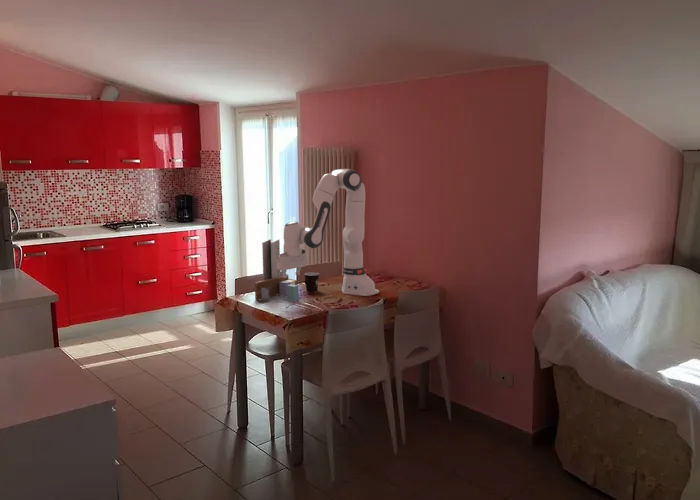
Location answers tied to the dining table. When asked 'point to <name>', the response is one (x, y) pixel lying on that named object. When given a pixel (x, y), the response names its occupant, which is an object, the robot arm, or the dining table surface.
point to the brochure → (270, 259)
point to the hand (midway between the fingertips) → (291, 276)
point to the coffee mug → (311, 281)
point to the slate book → (283, 288)
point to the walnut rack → (270, 286)
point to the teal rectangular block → (292, 292)
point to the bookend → (264, 296)
